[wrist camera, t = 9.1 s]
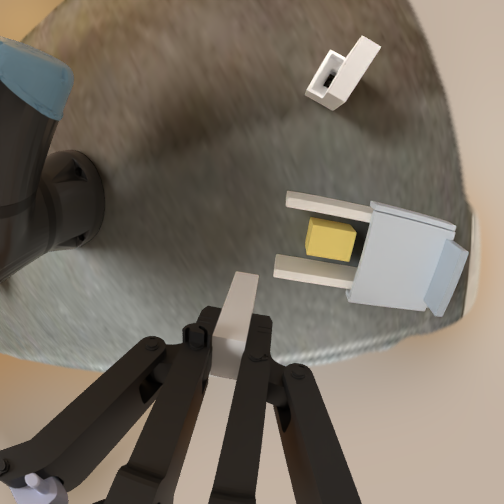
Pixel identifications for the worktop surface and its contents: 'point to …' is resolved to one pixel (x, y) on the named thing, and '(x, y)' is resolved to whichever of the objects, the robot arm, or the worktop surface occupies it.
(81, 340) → the worktop surface
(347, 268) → the long white channel rail
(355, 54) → the white angled block
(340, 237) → the mustard yellow cuboid
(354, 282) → the cover
